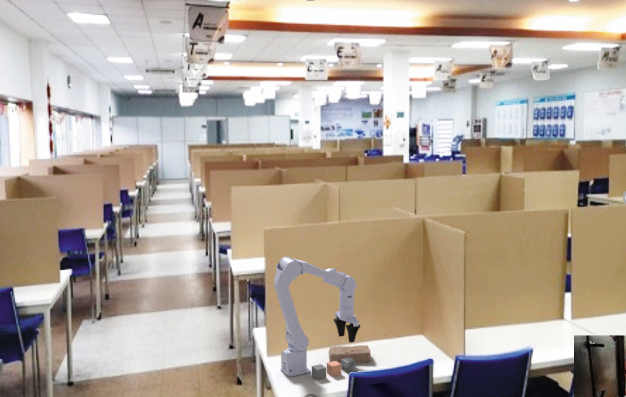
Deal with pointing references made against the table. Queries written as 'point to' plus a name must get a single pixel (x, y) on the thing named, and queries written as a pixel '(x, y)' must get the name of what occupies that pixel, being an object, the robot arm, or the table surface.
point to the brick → (350, 353)
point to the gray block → (318, 372)
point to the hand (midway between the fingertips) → (346, 339)
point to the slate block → (348, 365)
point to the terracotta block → (333, 368)
